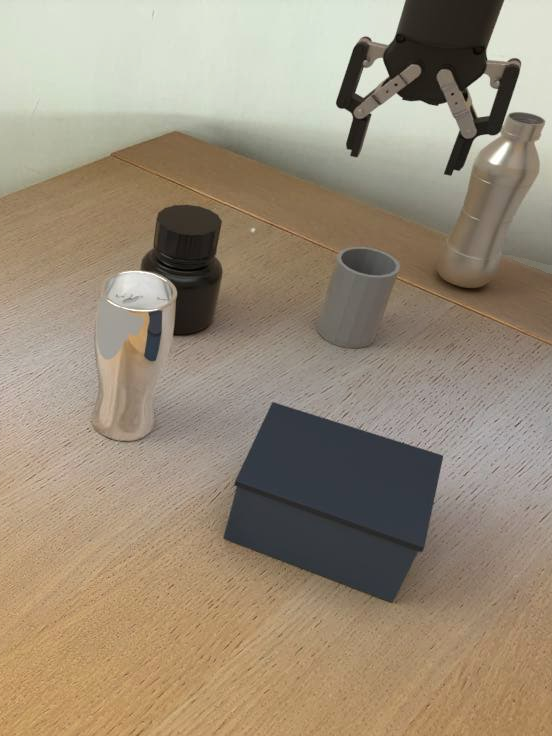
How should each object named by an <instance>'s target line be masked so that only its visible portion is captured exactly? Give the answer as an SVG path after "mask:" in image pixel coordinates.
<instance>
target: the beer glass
mask: <svg viewBox="0 0 552 736" xmlns="http://www.w3.org/2000/svg"><path fill="white" fill-rule="evenodd" d="M176 298H177V290H176V288H175V286H174V285H173V283H172V282H171V281H169V280H168V279H166V278H165V277H163V276H161V275H158V274H155V273H152V272H148V271H141V270H140V269H128V270H122V271H117V272H115V273H112V274H110V275H108V276H107V277H106V278H104V280H103V281H102V282H101V284H100V292H99V297H98V303H97V306H96V307H97V308H96V313H95V322H94V332H93V333H94V335H93V342H94V343H93V344H94V355H95V363H96V366H95V367H96V373H97V382H98V383H97V384H98V386H97V387H98V389H97V396H96V398H95V401H94V402H95V403H94V405H93V408H92V412H91V422H92V426H93V427H94V428H95V430H96V431H97V432H98V433H100V434H101V435H103V436H104V437H106V438H108V439H110V440H115V441H121V442H131V441H137V440H141V439H142V438H144V437H146V436H148V435H149V434H151V432H152V431H153V429H154V426H155V408H154V407H155V406H154V401H155V400H154V399H155V393H156V390H157V388H158V387H157V386H158V385H159V382H160V379H161V376H162V374H163V371H164V368H165V366H166V363H167V361H168V358H169V355H170V352H171V351H170V350H171V348H172V343H173V339H174V334H173V333H174V325H175V313H176Z"/></svg>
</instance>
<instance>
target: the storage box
mask: <svg viewBox="0 0 552 736" xmlns="http://www.w3.org/2000/svg"><path fill="white" fill-rule="evenodd" d="M443 460H444V455H443V454H440V453H436V452H433V451H430V450H427V449H424V448H420V447H417V446H414V445H412V444H411V445H410V444H407V443H405V442H401V441H399V440H395V439H392V438H389V437H386V436H382V435H380V434H376V433H373V432H369V431H367V430H363V429H361V428H358V427H353V426H351V425H347V424H344V423H341V422H337V421H336V420H335V421H334V420H331V419H329V418H325V417H322V416H319V415H316V414H312V413H309V412H307V411H302V410H299V409H296V408H293V407H291V406H287V405H283V404H280V403H277V402H273V401H272V402H271V404H270V406H269V408H268V411H267V413H266V415H265V417H264V419H263V421H262V423H261V426H260V427H259V430H258V431H257V433H256V436H255V438H254V440H253V442H252V443H251V447H250V448H249V450H248V453H247V455H246V457H245V459H244V460H243V461H244V462H243V463H242V466H241V468H240V469H239V472H238V473H237V476H236V478H235V480H234V483H233V484H234V485H233V486H234V487H236V488H235V492H234V496H233V500H232V504H231V507H230V510H229V515H228V519H227V523H226V527H225V530H224V533H223V540H227V541H229V542H231V543H235V544H237V545H240V546H242V547H245V548H246V549H247V548H248V549H250V550H253V551H255V552H258V553H260V554H262V555H266V556H268V557H271V558H273V559H276V560H279V561H281V562H284V563H287V564H289V565H291V566H294V567H297V568H300V569H301V570H302V569H303V570H305V571H308V572H310V573H312V574H315V575H318V576H320V577H323V578H326V579H329V580H331V581H333V582H336V583H339V584H342V585H344V586H346V587H349V588H352V589H354V590H357V591H360V592H362V593H365V594H367V595H370V596H373V597H375V598H378V599H381V600H383V601H386V602H389V603H391V604H393V603H394V601H395V599H396V597H397V595H398V593H399V591H400V590H401V588H402V585H403V584H404V581H405V579H406V577H407V575H408V574H409V571H410V569H411V567H412V565H413V564H414V562H415V559H416V557H417V555H418V553H422V552H423V551H424V550H425V546H426V541H427V535H428V531H429V526H430V522H431V521H430V520H431V516H432V512H433V508H434V502H435V497H436V494H437V493H436V492H437V489H438V483H439V480H440V479H439V478H440V473H441V468H442V464H443Z"/></svg>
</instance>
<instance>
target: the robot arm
mask: <svg viewBox="0 0 552 736" xmlns="http://www.w3.org/2000/svg"><path fill="white" fill-rule="evenodd" d="M504 2H505V0H405V1H404V4H403V8H402V10H401V14H400V18H399V21H398V23H397V28H396V30H395V31H396V32H395V35H394V38H393V39H392V41H390V43H389V44H386V43H380V42H377V41H373V40H372V38H371V37H370V36H367V35H366V36H365V35H364V36H362V37H360V38H359V40H358V41H357V42H356V43H355V45H354V46H353V48H352V50H351V51H352V52H351V54H350V58H349V60H348V64H347V68H346V69H345V72H344V73H345V74H344V76H343V79H342V81H341V85H340V88H339V91H338V94H337V97H336V101H335V105H336V107H337V108H338V109H340V110H343V109H344V110H345V111H347V112H349V113H350V114H351V116H352V121H351V124H350V128H349V131H348V134H347V139H346V142H345V147H346V150H349V151H350V157H352V158H353V157H354V158H359V156H360V154H361V152H362V150H363V146H364V142H365V139H366V135H367V132H368V129H369V125H370V122H371V118H372V112H373V111H375V109H377V108H379V107H380V106H382V105H383V104H384V103H387V102H388V100H390V99H391V98H392V97H393V96H395V95H397V96H399V97H400V98H401V100H402V101H405V102H406V101H407V102H422V103H424V104H427V105H429V106H435V107H438V106H439V105H442V104H447V105H448V108H449V111H450V113H451V116H452V117H453V119H455V122H456V124H457V126H458V130H459V131H458V133H457V136H456V138H455V142H454V143H453V146H452V149H451V151H450V152H451V153H450V155H449V157H448V161H447V163H446V166H445V169H444V172H443V175H445V176H449V177H450V176H451V177H452V175H453V173H454V171H458V172H460V171H461V170H462V169H463V168H464V166H465V163H466V161H467V159H468V156H469V154H470V151H471V148H472V146H473V143H474V141H475V140H476V138H478V137H481V136H486V135H489V136H492V137H493V136H497V135H498V134H500V131H501V129H502V126H503V125H504V122H505V120H506V117H507V112H508V110H509V107H510V104H511V100H512V97H513V95H514V91H515V89H516V86H517V83H518V79H519V76H520V72H521V68H522V61H521V59H520V58H517V57H513V58H510V59H508V60H507V61H506V60H505V61H503V60H493V59H492V60H491V59H488V55H487V50H488V46H489V44H490V41H491V38H492V36H493V33H494V30H495V28H496V25H497V22H498V19H499V16H500V13H501V11H502V7H503V5H504ZM378 59H382V61H383V64H384V67H385V70H386V71H387V74H388V76H387V77H386V78H384V80H382V81H381V82H380V83H378V85H376V87H375V88H374V89H372V90H371V91H369V92H368V93H367V94H366V95H365V96H364V97H363V96H361V95H359V94H358V93H356V92H357V88H358V87H359V83H360V81H361V76H362V74H363V71H364V69H368V68H370V67H372V66H373V64H374V63H375V62H376V60H378ZM484 75H487V77H489V86H490V88H492V89H494V90H497V91H496V94H495V97H494V100H493V103H492V107H491V109H490V113H489V115H485V116H478V114H477V112H476V109H475V106H474V104H473V99H472V96H471V94H470V91H469V87H470V86H471V85H472V84H474V83H475V82H477V80H479V79H481V78H482V76H484Z"/></svg>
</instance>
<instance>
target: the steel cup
mask: <svg viewBox="0 0 552 736" xmlns="http://www.w3.org/2000/svg"><path fill="white" fill-rule="evenodd" d="M400 269H401V265H400V263H399V261H398V260H397V259H396V257H394V256H392V255H391V254H390V253H387V252H385V251H383V250H380V249H377V248H372V247H368V246H352V247H346V248H344V249H342V250H340V251H339V252H338V254H337V256H336V258H335V263H334V265H333V269H332V272H331V276H330V280H329V282H328V286H327V289H326V292H325V296H324V300H323V303H322V306H321V310H320V313H319V317H318V320H317V323H316V324H317V325H316V331H317V333H318V334H319V335H320V337H321V338H323V339H324V340H325V341H327V342H329V343H330V344H332V345H335V346H338V347H342V348H347V349H362V348H366V347H368V346H370V345H372V344H373V343H374V341H375V339H376V336H377V334H378V331H379V328H380V325H381V322H382V319H383V317H384V314H385V311H386V308H387V306H388V303H389V300H390V297H391V294H392V291H393V289H394V286H395V283H396V281H397V278H398V274H399V272H400Z"/></svg>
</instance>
